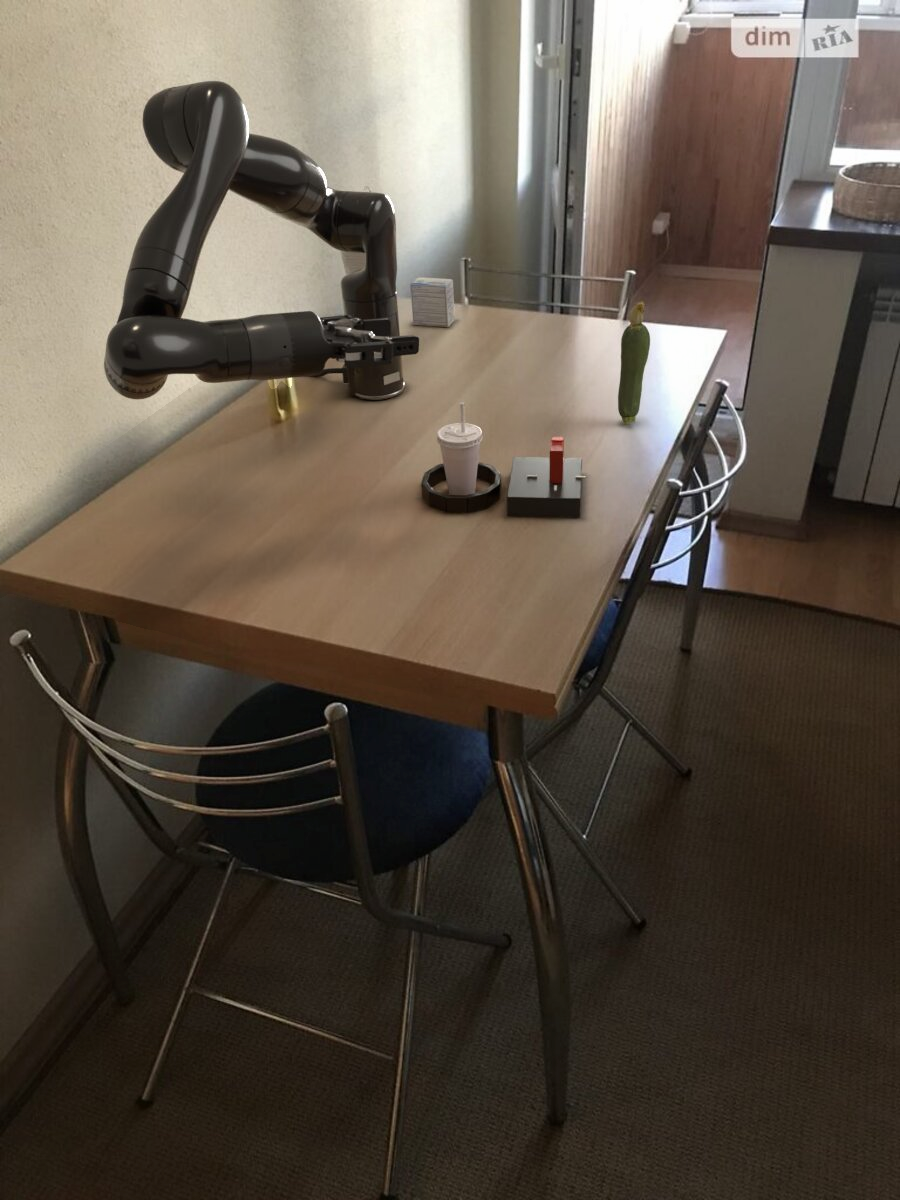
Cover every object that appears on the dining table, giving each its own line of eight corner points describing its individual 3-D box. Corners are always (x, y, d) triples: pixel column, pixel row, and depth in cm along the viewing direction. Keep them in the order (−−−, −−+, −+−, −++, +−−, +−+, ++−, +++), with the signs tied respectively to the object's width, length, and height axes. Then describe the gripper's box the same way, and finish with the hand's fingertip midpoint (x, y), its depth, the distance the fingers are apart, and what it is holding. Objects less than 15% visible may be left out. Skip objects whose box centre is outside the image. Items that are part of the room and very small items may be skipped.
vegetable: (613, 417, 156) (620, 295, 145) (640, 415, 156) (648, 293, 145) (620, 428, 152) (627, 304, 141) (646, 426, 153) (656, 302, 141)
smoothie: (480, 505, 134) (477, 413, 126) (435, 503, 135) (430, 411, 127) (487, 484, 139) (485, 394, 131) (444, 481, 141) (439, 392, 133)
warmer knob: (562, 483, 132) (563, 449, 129) (549, 483, 132) (549, 449, 129) (563, 470, 135) (564, 436, 132) (550, 470, 136) (551, 436, 133)
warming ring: (417, 512, 134) (416, 496, 132) (429, 474, 143) (428, 459, 141) (497, 514, 132) (496, 498, 131) (504, 476, 141) (503, 461, 140)
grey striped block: (455, 320, 198) (453, 278, 193) (448, 328, 195) (446, 285, 190) (420, 318, 200) (417, 276, 195) (412, 325, 197) (409, 283, 192)
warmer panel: (507, 515, 132) (506, 495, 130) (513, 475, 141) (513, 455, 140) (584, 517, 130) (585, 497, 128) (585, 476, 140) (586, 457, 138)
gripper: (298, 329, 106) (429, 318, 113) (259, 300, 117) (380, 292, 124) (301, 394, 110) (427, 380, 116) (263, 361, 121) (380, 350, 127)
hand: (403, 335), depth 120 cm, fingers open, 8 cm apart
